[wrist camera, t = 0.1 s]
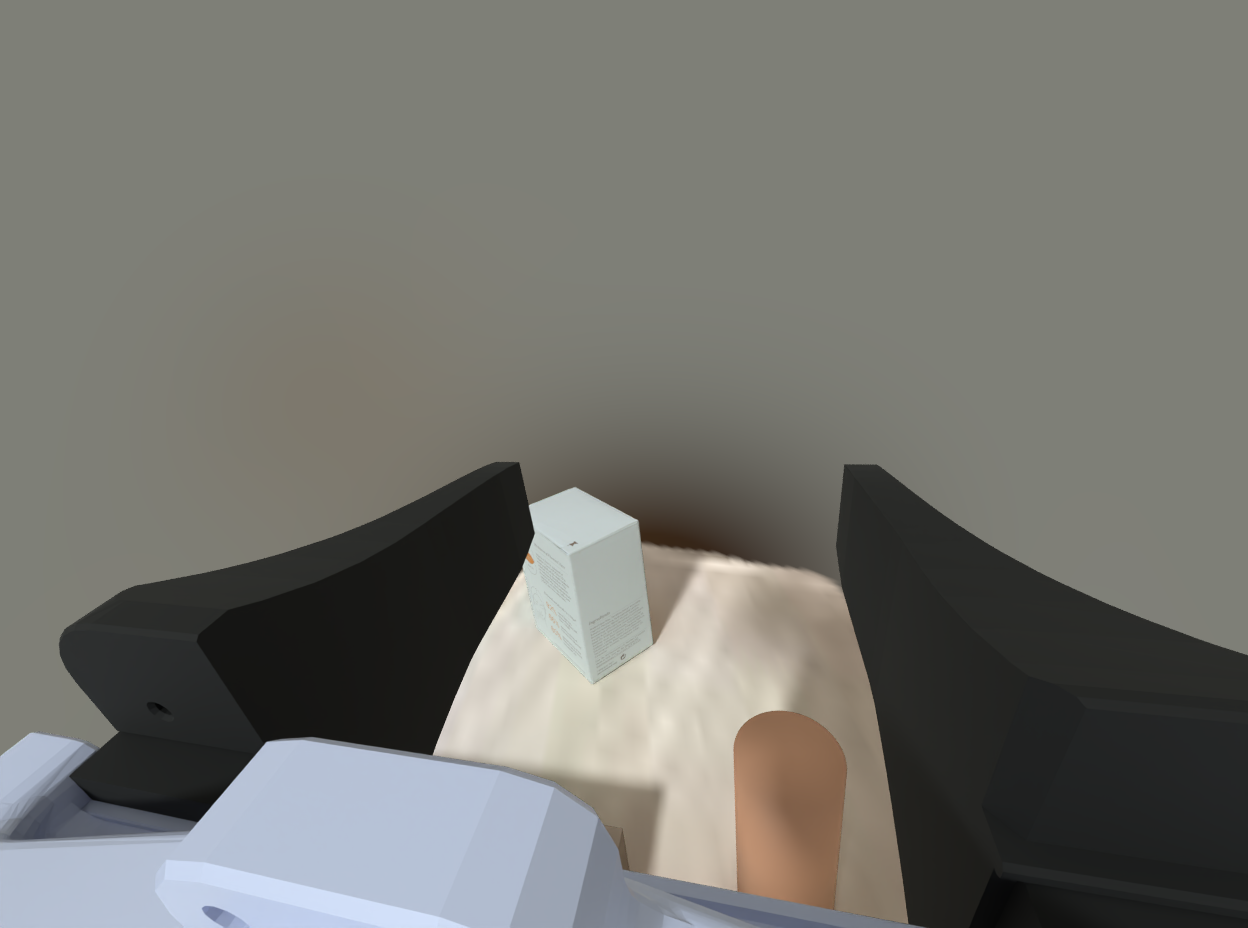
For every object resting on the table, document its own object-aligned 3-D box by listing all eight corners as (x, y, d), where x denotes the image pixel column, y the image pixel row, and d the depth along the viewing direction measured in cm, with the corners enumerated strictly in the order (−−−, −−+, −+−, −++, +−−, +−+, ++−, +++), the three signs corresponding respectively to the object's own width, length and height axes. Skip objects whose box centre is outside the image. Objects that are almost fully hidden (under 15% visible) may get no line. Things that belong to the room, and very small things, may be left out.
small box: (655, 646, 38) (642, 519, 34) (591, 688, 35) (568, 555, 31) (593, 596, 44) (576, 484, 40) (534, 628, 41) (509, 510, 37)
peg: (839, 964, 21) (856, 818, 17) (736, 943, 22) (731, 800, 18) (826, 856, 24) (838, 716, 21) (738, 842, 25) (734, 706, 22)
